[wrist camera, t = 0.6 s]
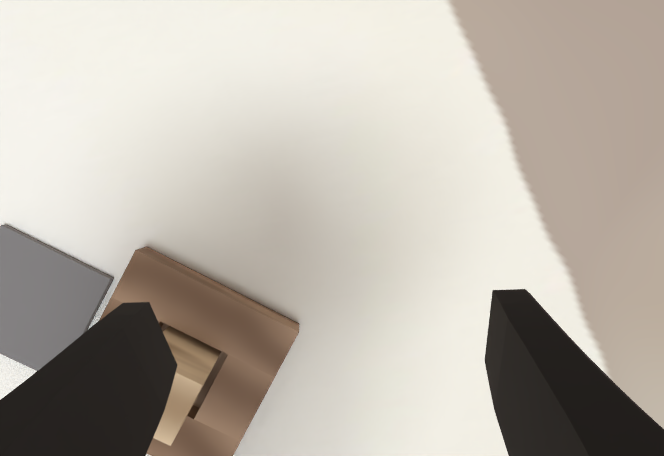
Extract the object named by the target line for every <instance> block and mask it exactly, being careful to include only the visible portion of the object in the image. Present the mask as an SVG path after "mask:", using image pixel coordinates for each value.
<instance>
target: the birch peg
mask: <svg viewBox="0 0 664 456" xmlns="http://www.w3.org/2000/svg"><path fill="white" fill-rule="evenodd" d="M163 334H164V336H165V338H166V340H167V343H168V345H169V347H170V349H171V352H172V354H173V356H174V358H175V360H176V363H177V369H176V373H175V376H174V380H173V384H172V388H171V391H170V394H169V398H168V401H167V404H166V407H165V410H164V413H163V415H162V418H161V420H160V423H159V425H158V427H157V430H156V432H155V434H154V437H153V438H154V439H157V440H159V441H161V442H163V443H165V444H167V445H169V446H171V444H172V442H173V441H174V439H175V437H176V435H177V433H178V432H179V430H180V428H181V426H182V424H183V422H184V421H185V419H186V417H187V415H188V413H189V412H190V410H191V408H192V406H193V404H194V402H195V401H196V399H197V397H198V395H199V393H200V391H201V389H202V387H203V386H204V384H205V382H206V380H207V378H208V376H209V374H210V372H211V370H212V369H213V367H214V365H215V363H216V361H217V359H218V357H219V355H220V353H221V351H220V350H218V349H216V348H214V347H212V346H210V345H208V344H206V343H204V342H202V341H200V340H198V339H196V338H194V337H191V336H189V335H187V334H185V333H183V332H181V331H179V330H177V329H175V328H173V327H171V326H168V327H167V328H166V329H165V330H164V331H163Z"/></svg>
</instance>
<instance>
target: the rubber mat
mask: <svg viewBox="0 0 664 456" xmlns="http://www.w3.org/2000/svg"><path fill="white" fill-rule="evenodd" d="M113 279H114V278H113V277H111V276H109V275H107V274H105V273H103V272H101V271H99V270H97V269H95V268H93V267H91V266H89V265H87V264H85V263H83V262H81V261H79V260H77V259H75V258H73V257H71V256H69V255H67V254H65V253H63V252H61V251H58V250H56V249H54V248H52V247H50V246H48V245H46V244H44V243H42V242H40V241H38V240H36V239H34V238H32V237H30V236H28V235H26V234H24V233H22V232H20V231H18V230H16V229H14V228H12V227H10V226H8V225H1V226H0V354H2V355H5V356H7V357H9V358H11V359H13V360H15V361H17V362H19V363H22V364H24V365H26V366H28V367H30V368H32V369H34V370H37V371H38V370H39V369H41V368H42V367H43V366H44V365H46V364H47V363H48V362H49V361H51V360H52V359H53V358H54V357H56V356H57V355H58V354H59V353H60V352H62V351H63V350H64V349H65V348H67V347H68V346H69V345H70V344H71V343H73V342H74V341H75V340H76V339H78V338H79V337H80V336H81V335H82V334H84V333H85V332H86V331H87V329H88V327H89V325H90V324H91V322H92V320H93V318H94V316H95V314H96V312H97V310H98V308H99V306H100V304H101V302H102V300H103V298H104V296H105V294H106V293H107V291H108V289H109V287H110V285H111V283H112V281H113Z"/></svg>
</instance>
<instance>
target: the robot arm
mask: <svg viewBox="0 0 664 456" xmlns="http://www.w3.org/2000/svg"><path fill="white" fill-rule="evenodd" d="M485 364H486V370H487V375H488V380H489V385H490V390H491V395H492V400H493V405H494V410H495V413H496V416H497V420H498V423H499V426H500V429H501V432H502V436H503V439H504V442H505V445H506V448H507V451H508V455H509V456H664V429H663V428H662V427H661V426H659V425H658V424H657V423H656V422H655V421H654V420H653V419H652V418H651V417H650V416H648V415H647V414H646V413H645V412H644V411H643V410H642V409H641V408H640V407H639V406H638V405H637V404H635V402H633V401H632V400H631V399H630V398H629V397H628V396H627V395H626V394H625V393H624V392H623V391H622V390H621V389H620V388H619V387H618V386H617V385H616V384H615V383H614V382H613V381H612V380H611V379H610V378H609V377H608V376H607V375H606V374H605V373H604V372H603V371H602V370H601V369H600V368H599V367H598V366H597V365H596V364H595V363H594V362H593V361H592V360H591V359H590V358H589V357H588V356H587V355H586V354H585V353H584V352H583V351H582V350H581V349H580V348H579V347H578V346H577V345H576V344H575V342H574V341H573V340H572V339H571V338H570V337H569V336H568V335H567V334H566V333H565V332H564V331H563V330H562V329H561V327H560V326H559V325H558V324H557V323H556V322H555V321H554V320H553V319H552V318H551V316H550V315H549V314H548V313H547V312H546V311H545V310H544V309H543V308H542V306H541V305H540V304H539V303H538V302H537V301H536V300H535V299H534V298H533V296H532V295H531V294H530V293H529V292H528V291H527V290H525V289H517V290H493V292H492V301H491V310H490V319H489V328H488V336H487V345H486V354H485ZM176 369H177V363H176V360H175V358H174V356H173V354H172V352H171V349H170V347H169V345H168V343H167V340H166V338H165V336H164V334H163V331H162V329H161V327H160V325H159V323H158V320H157V318H156V316H155V314H154V311H153V309H152V307H151V305H150V302H131V303H122V304H121V305H119V306H118V307H117V308H115V309H114V310H113V311H111V312H110V313H109V314H107V315H106V316H105V317H104V318H102V319H101V320H100V321H98V322H97V323H96V324H95V325H94V326H92V327H91V328H90V329H89V330H87V331H86V332H85V333H84V334H82V335H81V336H80V337H79V338H78V339H76V340H75V341H74V342H73V343H71V344H70V345H69V346H68V347H67V348H65V349H64V350H63V351H62V352H60V353H59V354H58V355H57V356H56V357H54V358H53V359H52V360H51V361H49V362H48V363H47V364H46V365H44V366H43V367H42V368H41V369H39V370H38V371H37V372H36V373H35V374H33V375H32V376H31V377H30V378H28V379H27V380H26V381H25V382H23V383H22V384H21V385H19V386H18V387H17V388H15V389H14V390H13V391H12V392H10V393H9V394H8V395H6V396H5V397H4V398H2V399H1V400H0V456H145V455H146V453H147V451H148V448H149V446H150V444H151V441H152V439H153V437H154V434H155V432H156V430H157V427H158V425H159V423H160V420H161V418H162V415H163V413H164V410H165V407H166V404H167V401H168V398H169V394H170V391H171V388H172V384H173V380H174V376H175V373H176Z"/></svg>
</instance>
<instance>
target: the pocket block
mask: <svg viewBox="0 0 664 456" xmlns="http://www.w3.org/2000/svg"><path fill="white" fill-rule="evenodd" d="M131 302H150V305H151V307H152V309H153V311H154V314H155V316H156V318H157V320H158V323H159V325H160V327H161V329H162V331H164V330H165V329H166V328H167V327H168V326H171V327H173V328H175V329H177V330H179V331H181V332H183V333H185V334H187V335H189V336H191V337H194V338H196V339H198V340H200V341H202V342H204V343H206V344H208V345H210V346H212V347H214V348H216V349H218V350H220V351H221V353H220V355H219V357H218V359H217V361H216V363H215V365H214V367H213V369H212V370H211V372H210V374H209V376H208V378H207V380H206V382H205V384H204V386H203V387H202V389H201V391H200V393H199V395H198V397H197V399H196V401H195V402H194V404H193V406H192V408H191V410H190V412H189V413H188V415H187V417H186V419H185V421H184V422H183V424H182V426H181V428H180V430H179V432H178V433H177V435H176V437H175V439H174V441H173V442H172V444H171V446H169V445H167V444H165V443H163V442H161V441H159V440H157V439H154V438H153V439H152V441H151V444H150V446H149V448H148V451H147V454H149V455H152V456H233V454H234V453H235V451H236V449H237V447H238V445H239V443H240V441H241V439H242V438H243V436H244V434H245V432H246V430H247V428H248V426H249V424H250V423H251V421H252V419H253V417H254V415H255V413H256V411H257V409H258V408H259V406H260V404H261V402H262V400H263V398H264V396H265V394H266V393H267V391H268V389H269V387H270V385H271V383H272V381H273V379H274V378H275V376H276V374H277V372H278V370H279V368H280V366H281V364H282V363H283V361H284V359H285V357H286V355H287V353H288V351H289V349H290V348H291V346H292V344H293V342H294V340H295V338H296V336H297V335H298V333H299V323H297V322H295V321H293V320H291V319H289V318H287V317H285V316H283V315H281V314H279V313H277V312H275V311H273V310H271V309H269V308H267V307H265V306H263V305H261V304H259V303H257V302H255V301H253V300H251V299H249V298H247V297H245V296H243V295H241V294H239V293H237V292H235V291H233V290H231V289H229V288H227V287H225V286H223V285H221V284H219V283H217V282H215V281H214V280H212V279H210V278H208V277H206V276H204V275H202V274H200V273H198V272H196V271H194V270H192V269H190V268H188V267H186V266H184V265H182V264H180V263H178V262H176V261H174V260H172V259H170V258H168V257H166V256H164V255H162V254H160V253H158V252H156V251H154V250H152V249H150V248H148V247H144V248H141V249H138V250H135V252H134V254H133V256H132V258H131V260H130V262H129V264H128V266H127V268H126V270H125V272H124V274H123V276H122V278H121V279H120V281H119V283H118V285H117V287H116V289H115V291H114V293H113V295H112V297H111V299H110V301H109V303H108V305H107V307H106V308H105V310H104V312H103V314H102V316H101V318H100V320H101V319H102V318H104V317H105V316H106V315H107V314H109V313H110V312H111V311H113V310H114V309H115V308H117V307H118V306H119V305H121V304H122V303H131ZM100 320H99V321H100Z"/></svg>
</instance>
